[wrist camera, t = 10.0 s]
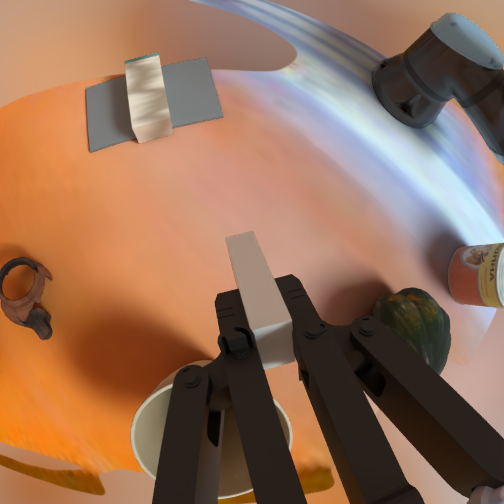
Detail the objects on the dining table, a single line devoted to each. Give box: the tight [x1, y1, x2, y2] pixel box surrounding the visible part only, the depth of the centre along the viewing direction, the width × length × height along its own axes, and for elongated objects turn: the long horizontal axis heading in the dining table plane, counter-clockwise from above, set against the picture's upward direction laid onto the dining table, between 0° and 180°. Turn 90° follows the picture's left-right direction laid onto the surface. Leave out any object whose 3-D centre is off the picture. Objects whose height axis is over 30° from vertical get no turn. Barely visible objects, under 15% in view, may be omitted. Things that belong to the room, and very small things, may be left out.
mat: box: [86, 58, 223, 153], centre depth 38 cm, size 20×12×1 cm, turn 105°
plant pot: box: [130, 360, 292, 499], centre depth 30 cm, size 15×15×16 cm
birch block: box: [125, 53, 173, 143], centre depth 36 cm, size 5×5×12 cm
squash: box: [370, 288, 451, 375], centre depth 37 cm, size 14×15×15 cm
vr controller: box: [0, 257, 53, 340], centre depth 32 cm, size 12×10×8 cm
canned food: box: [448, 243, 504, 308], centre depth 41 cm, size 11×11×12 cm
